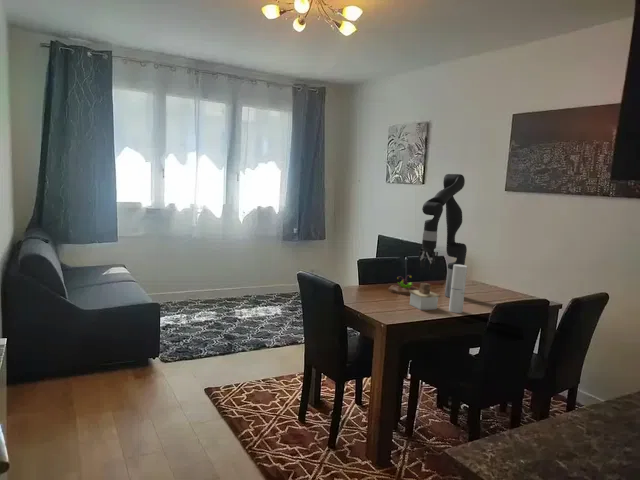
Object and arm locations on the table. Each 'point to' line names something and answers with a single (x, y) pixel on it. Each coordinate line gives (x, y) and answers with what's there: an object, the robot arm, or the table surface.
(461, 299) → the cylindrical container
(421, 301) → the off-white box
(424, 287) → the oak lid
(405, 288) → the plant
